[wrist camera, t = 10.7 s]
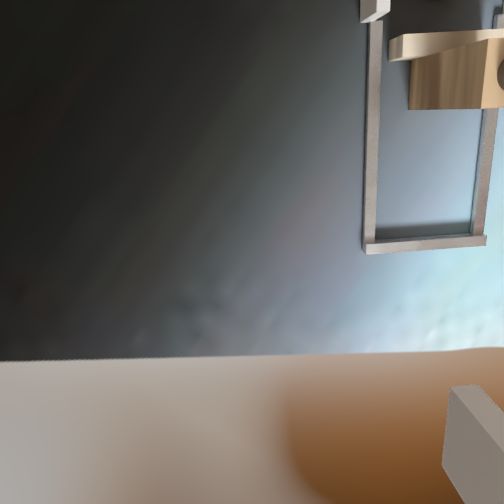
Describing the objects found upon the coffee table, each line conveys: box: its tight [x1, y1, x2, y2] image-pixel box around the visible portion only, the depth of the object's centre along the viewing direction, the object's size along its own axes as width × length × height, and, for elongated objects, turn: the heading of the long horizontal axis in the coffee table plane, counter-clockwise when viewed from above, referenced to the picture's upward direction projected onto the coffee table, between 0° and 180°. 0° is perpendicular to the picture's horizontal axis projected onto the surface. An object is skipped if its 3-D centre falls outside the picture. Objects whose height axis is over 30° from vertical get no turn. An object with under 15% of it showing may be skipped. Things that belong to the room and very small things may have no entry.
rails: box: [362, 14, 504, 255], centre depth 37 cm, size 12×20×1 cm, turn 3°
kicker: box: [388, 29, 504, 110], centre depth 30 cm, size 8×6×12 cm
